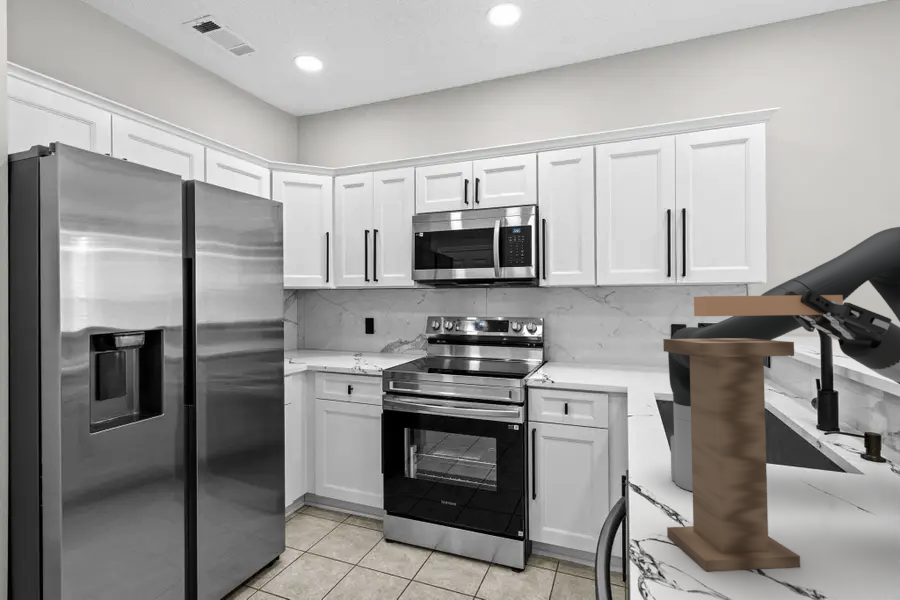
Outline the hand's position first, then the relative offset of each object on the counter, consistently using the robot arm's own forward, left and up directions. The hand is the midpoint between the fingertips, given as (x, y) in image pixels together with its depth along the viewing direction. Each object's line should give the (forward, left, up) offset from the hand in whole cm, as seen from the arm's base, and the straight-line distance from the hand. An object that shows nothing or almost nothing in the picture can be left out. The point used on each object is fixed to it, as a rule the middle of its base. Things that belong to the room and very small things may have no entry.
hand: (795, 295), depth 72 cm
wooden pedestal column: (-3, -11, -39) cm, 41 cm away
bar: (-1, -4, -3) cm, 5 cm away
